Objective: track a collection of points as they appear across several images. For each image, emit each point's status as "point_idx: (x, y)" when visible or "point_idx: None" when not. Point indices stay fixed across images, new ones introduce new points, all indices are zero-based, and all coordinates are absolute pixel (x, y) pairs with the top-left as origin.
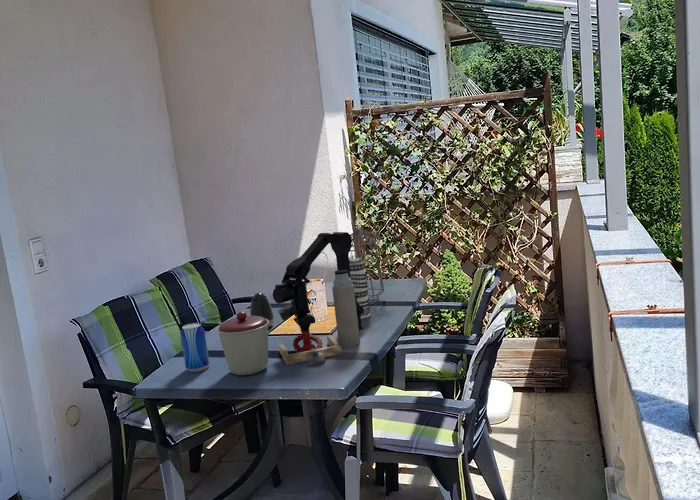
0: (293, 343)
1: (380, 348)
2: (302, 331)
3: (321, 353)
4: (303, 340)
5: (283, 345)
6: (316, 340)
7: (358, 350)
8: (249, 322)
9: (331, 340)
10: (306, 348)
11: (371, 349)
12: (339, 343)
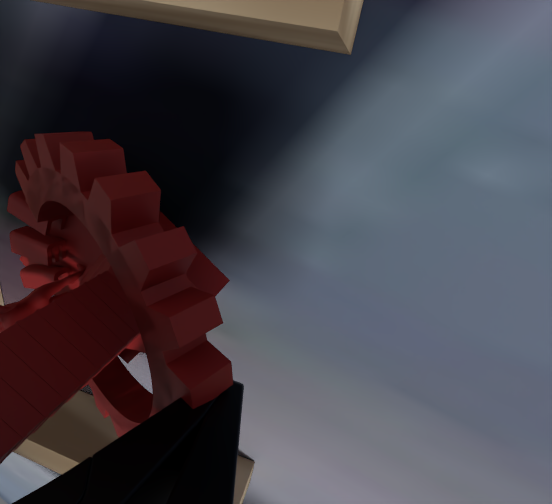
0: (66, 152)
1: (7, 500)
2: (120, 443)
3: None
4: (59, 298)
5: (219, 7)
6: (120, 406)
7: None
8: None
9: (75, 462)
10: (98, 260)
11: (10, 479)
12: None
